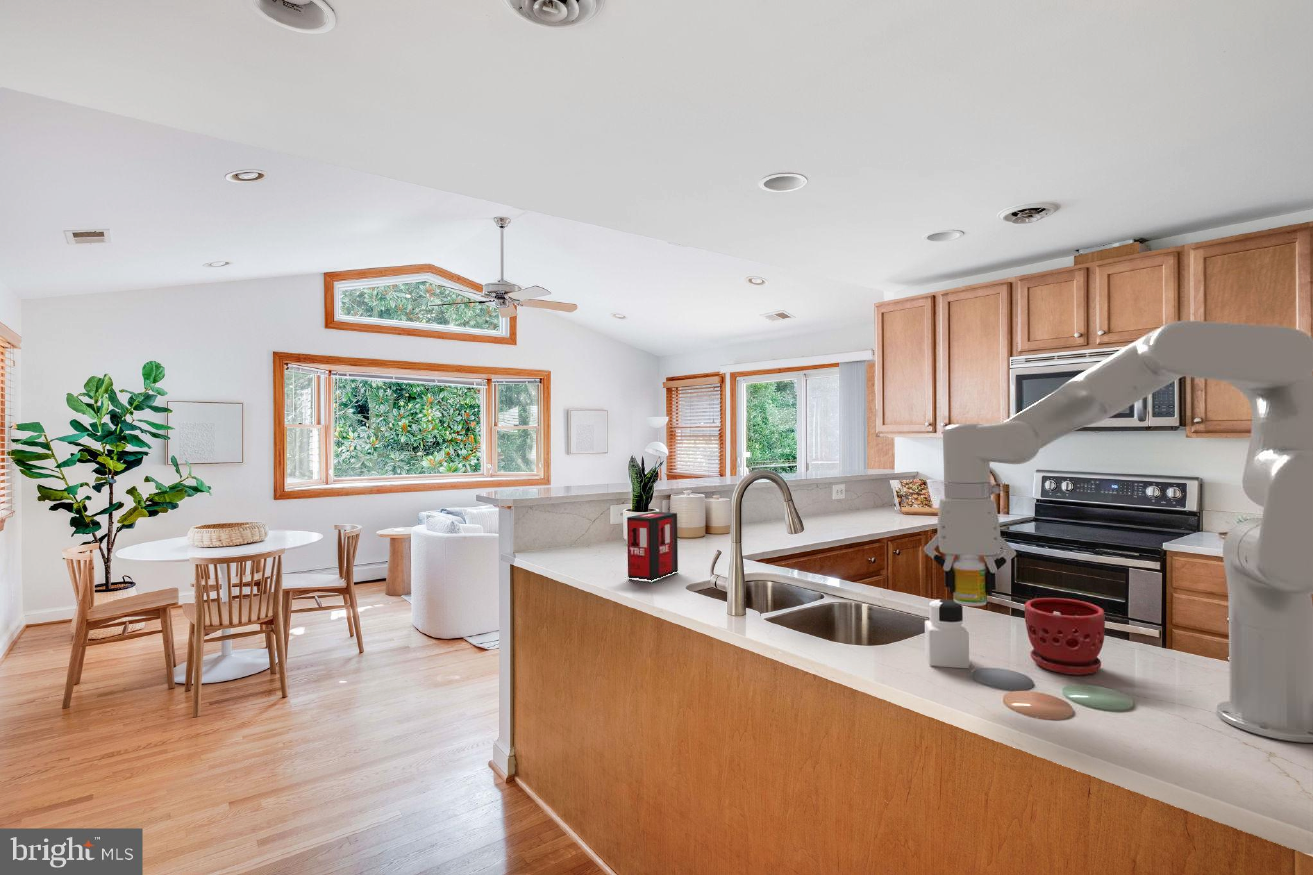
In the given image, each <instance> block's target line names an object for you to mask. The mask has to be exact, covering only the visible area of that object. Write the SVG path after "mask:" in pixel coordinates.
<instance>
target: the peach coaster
mask: <svg viewBox="0 0 1313 875" xmlns="http://www.w3.org/2000/svg"><path fill="white" fill-rule="evenodd" d="M1002 702H1003V705H1004V706H1006V707H1007V708H1008V709H1010V710H1011V711H1013V710H1014V712H1015V711H1016V712H1015V713H1018V714H1021V713H1022V714H1021V715H1023V714H1024V716H1027V715H1028V717H1031V716H1032V718H1035V717H1038V718H1037V719H1042V720H1043V719H1044V720H1065V719H1069V718H1070V717H1072V716H1071V715H1073V714H1074V709H1073V706H1072V705H1071V704H1070V703H1069V702H1067V701H1066V700H1064V699H1062V698H1060V697H1057V696H1055V695H1052V694H1047V693H1043V692H1038V691H1034V690H1033V691H1030V690H1015V691H1014V690H1012V691H1009V692H1007V693H1005V694H1004V695H1003V698H1002Z"/></svg>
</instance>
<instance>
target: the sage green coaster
mask: <svg viewBox="0 0 1313 875" xmlns="http://www.w3.org/2000/svg"><path fill="white" fill-rule="evenodd" d="M1062 695H1063V696H1064V697H1065V699H1067V700H1068V701H1071V702H1073V703H1075V704H1078V705H1080V704H1081V706H1084V707H1087V708H1090V709H1091V708H1092V709H1095V708H1096V709H1097V710H1101V711H1110V712H1111V711H1112V712H1120V711H1127V710H1131V709H1132V708H1134V699H1133V698H1132V697H1131V696H1130V695H1127V693H1123V692H1122V691H1118V690H1116V689H1112V688H1109V687H1103V686H1098V685H1092V684H1091V685H1090V684H1068V685H1065V686H1063V687H1062ZM1096 709H1095V710H1096Z"/></svg>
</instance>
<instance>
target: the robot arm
mask: <svg viewBox="0 0 1313 875" xmlns="http://www.w3.org/2000/svg"><path fill="white" fill-rule="evenodd" d="M1182 377H1187V378H1188V377H1189V378H1196V379H1197V378H1198V379H1204V380H1205V379H1206V380H1213V381H1214V380H1215V381H1220V382H1221V381H1222V382H1223V381H1224V382H1226V383H1228V384H1229V385H1230V386H1232V387H1234V388H1236V389H1237V390H1238V391H1239V392H1241V393H1242V395H1244V396H1245V398H1246V399H1247V401H1248V403H1249V405H1250V409H1251V412H1252V413H1251V415H1252V419H1251V420H1252V421H1251V434H1250V439H1249V444H1248V449H1247V454H1246V460H1245V464H1244V465H1245V466H1244V469H1243V470H1244V471H1243V474H1242V478H1241V479H1242V480H1241V481H1242V489H1243V492H1244V493H1245V495H1246V496H1247V497H1248V499H1249V500H1251V501H1252V502H1253V503H1255V504H1256V505H1257V506H1260V507H1263V510H1262V517H1260V518H1258V517H1257V518H1251V519H1246V520H1244V521H1241V522H1239V523H1237V524H1235V525H1234V526H1233V527H1232V528H1230V530H1229V531H1228V532H1227V534H1226V536H1225V538H1224V539H1223V540H1224V541H1223V546H1222V559H1223V560H1222V561H1223V567H1224V572H1225V579H1226V585H1227V598H1228V600H1227V601H1228V658H1229V659H1228V661H1229V662H1228V664H1229V665H1228V669H1229V671H1228V672H1229V675H1228V676H1229V680H1228V681H1229V700H1227V701H1223V702H1220V703H1217V705H1216V714H1217V716H1218V717H1219V718H1220V719H1222V721H1224V722H1226V723H1227V724H1229V725H1231V726H1233V727H1236V728H1238V729H1241V730H1244V731H1247V732H1249V733H1251V734H1256V735H1259V736H1263V737H1266V738H1271V739H1275V740H1281V741H1286V742H1294V743H1295V742H1296V743H1306V744H1307V743H1308V744H1309V743H1310V744H1312V743H1313V599H1312V595H1313V337H1311V336H1310V335H1308V334H1307V333H1306V332H1304V331H1302V330H1299V329H1296V328H1293V327H1289V326H1288V327H1287V326H1280V325H1263V324H1262V325H1261V324H1248V323H1247V324H1246V323H1229V322H1217V321H1216V322H1215V321H1204V320H1203V321H1202V320H1201V321H1200V320H1178V321H1171V322H1169V323H1166V324H1163V325H1162V326H1160V327H1158V328H1156V329H1154V330H1152V331H1150V332H1148V333H1147V334H1144V335H1143V336H1142V337H1140V338H1138V339H1136V340H1135V341H1132V342H1131V343H1130V344H1128V345H1126V346H1125V347H1123V348H1120V350H1118V351H1116V352H1114V353H1113V354H1111V355H1109V356H1108V357H1106V358H1104V359H1102V360H1101V361H1099V362H1097V363H1096V364H1094V365H1092V366H1091V367H1089V368H1087V369H1086V370H1084V371H1083V372H1080V373H1078V374H1077V375H1075V376H1074V377H1073V378H1071V379H1070V380H1068V381H1066V382H1065V383H1064V384H1063V385H1061V386H1060V387H1058V388H1057V389H1055V390H1054V391H1053V392H1050V394H1048V395H1046V396H1044V397H1043V398H1042V399H1040V400H1039V401H1036V402H1035V403H1033V404H1031V405H1030V406H1028V407H1027V408H1025V409H1023V410H1022V411H1020V412H1018V413H1017V414H1015V415H1013V416H1012V417H1009V418H1008V419H1006V420H1004V421H1003V422H999V423H991V424H984V423H983V424H982V423H955V424H949V425H946V427H944V428H943V431H942V447H943V448H942V450H943V452H942V454H943V457H942V458H943V485H944V486H943V487H944V490H943V491H944V498H940V499H939V505H938V511H937V534H935V535H934V537H933V538H932V539H931V540H930V541H929V542H928V543H927V544H925V546H924V548H923V552H924V553H925V554H926V555H927V556H929V558H932V560H934V561H935V563H937V565H939V566H940V567H941V568H942V569H943V570H944V587H945V588H948V590H949V594H953V593H954V572H953V562H954V561H955V560H954V559H955V557H956V556H957V555H959V556H961V555H975V556H981V557H983V558H984V560H985V564H986V565H987V566H986V596H990V597H991V596H992V595H993V592H992V591H996V590H997V589H996V588H997V586H996V573H997V572H998V570H999V569H1001V568H1002V567H1003V566H1004V565H1005V564H1006V563H1007V562H1009V561H1010V560H1011V559H1013V558H1014V557H1015V556H1016V555H1017V552H1016V550H1014V549H1013V548H1012V546H1011V545H1010V544H1009V543H1008V542H1007V541H1006V540H1005V539H1004V538H1003V537H1002V536H1001V529H1000V521H999V520H1000V519H999V514H998V508H997V503H996V500H995V499H993V498H992V496H993V495H995V494H1000V492H1001V491H1000V490H1001V489H1000V487H1001V486H1000V485H995V484H992V483H991V467H990V465H991V464H990V463H997V464H1007V465H1022V464H1025V463H1028V462H1030V461H1032V460H1033V459H1035V457H1036V456H1037V455H1038V453H1039V451H1040V450H1041V449H1042V448H1044V447H1046V446H1048V445H1049V444H1051V443H1053V442H1055V441H1057V440H1059V439H1060V438H1062V437H1064V436H1066V435H1068V434H1071V433H1073V432H1074V431H1076V430H1079V429H1082V428H1084V427H1088V426H1091V425H1094V424H1098V423H1100V422H1103V421H1105V420H1106V419H1109V418H1111V417H1113V416H1115V415H1117V414H1119V413H1120V412H1121V411H1124V410H1126V409H1127V408H1129V407H1130V406H1132V405H1134V404H1136V403H1138V402H1140V401H1141V400H1143V399H1144V398H1147V397H1148V396H1150V395H1151V394H1154V393H1155V392H1157V391H1159V390H1161V389H1162V388H1164V387H1167V385H1170V384H1171V383H1173V382H1175V381H1177V380H1179V379H1180V378H1182ZM937 546H938V547H937ZM936 547H937V548H939V549H938V550H939V551H940V552H941V553H942V554H944V555H945V556H944V557H943V556H942V555H940V554H939V553H938V552H937V551H936V550H935V548H936ZM1002 549H1003V551H1004V552H1003V553H1002V554H1001V550H1002ZM1000 554H1001V555H1000ZM998 555H999V556H998ZM996 556H998V557H996ZM993 557H996V559H995V560H994V558H993Z"/></svg>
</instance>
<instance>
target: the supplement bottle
mask: <svg viewBox="0 0 1313 875" xmlns="http://www.w3.org/2000/svg"><path fill="white" fill-rule="evenodd" d="M981 557H982V556H975V555H961V556H959V555H956V558H957V559H955V560H953V563H952V569H953V572H954V593H952V594H953V601H955V602H956V603H958V604H961V605H962V606H968V607H980V606H984V605H986V604H987V601H988V600H987V596H988V595H987V593H986V570H987V566H986V562H984V561H982V560H981Z"/></svg>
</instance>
